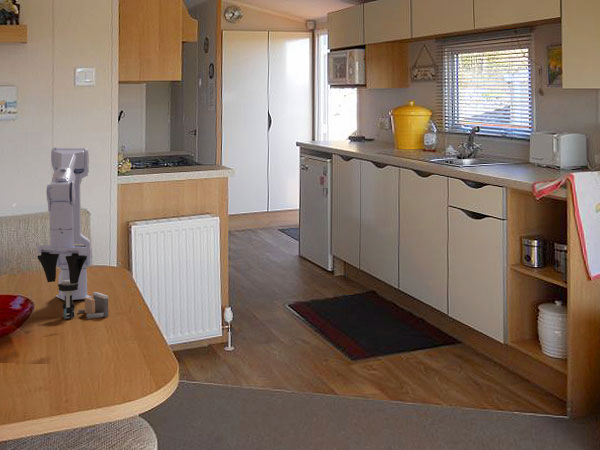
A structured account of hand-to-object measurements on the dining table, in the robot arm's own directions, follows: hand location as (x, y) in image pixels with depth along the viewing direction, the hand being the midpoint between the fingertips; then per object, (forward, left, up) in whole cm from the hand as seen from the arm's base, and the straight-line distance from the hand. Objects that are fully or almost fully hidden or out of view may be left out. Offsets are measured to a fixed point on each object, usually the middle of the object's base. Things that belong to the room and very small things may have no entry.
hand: (62, 282), depth 181 cm
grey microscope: (-8, +4, -11) cm, 14 cm away
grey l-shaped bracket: (-8, +11, -11) cm, 17 cm away
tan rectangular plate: (-8, +9, -11) cm, 16 cm away
